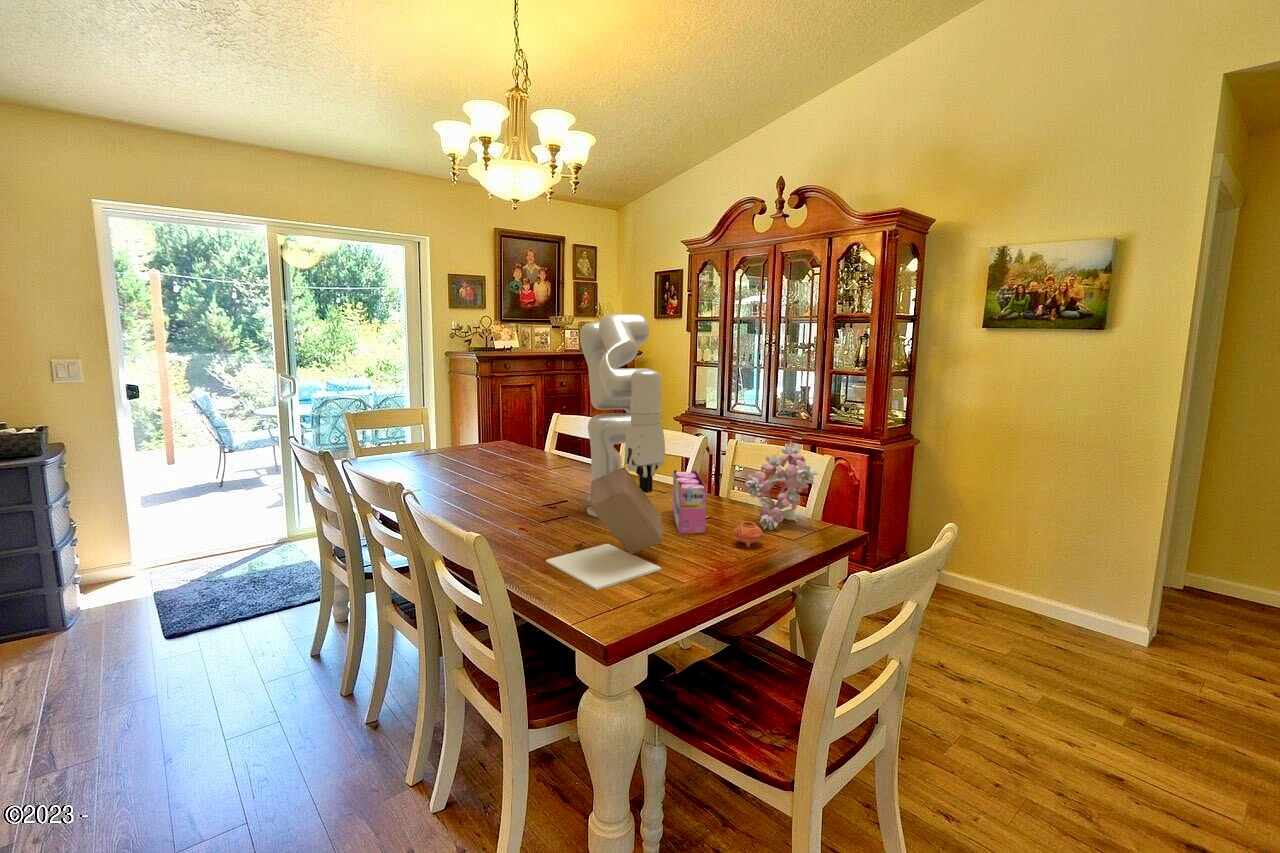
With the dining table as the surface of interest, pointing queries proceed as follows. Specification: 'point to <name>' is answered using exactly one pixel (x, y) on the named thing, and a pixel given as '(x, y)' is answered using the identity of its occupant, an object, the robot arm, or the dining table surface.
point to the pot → (748, 533)
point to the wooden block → (626, 511)
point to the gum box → (689, 502)
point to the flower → (790, 496)
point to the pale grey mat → (603, 566)
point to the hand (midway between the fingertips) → (646, 491)
